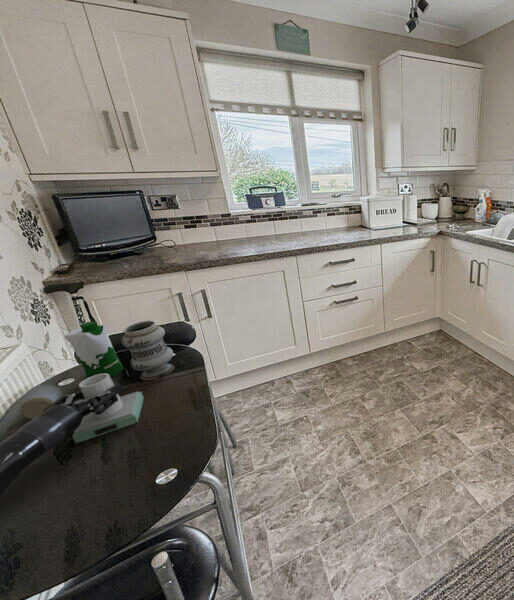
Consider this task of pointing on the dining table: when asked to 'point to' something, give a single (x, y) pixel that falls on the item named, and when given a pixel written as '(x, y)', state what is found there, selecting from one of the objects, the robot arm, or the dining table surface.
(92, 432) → the kitchen scale
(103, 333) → the milk carton
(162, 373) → the apothecary jar
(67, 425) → the robot arm
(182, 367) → the dining table surface
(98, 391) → the white cup
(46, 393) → the ceramic mug
